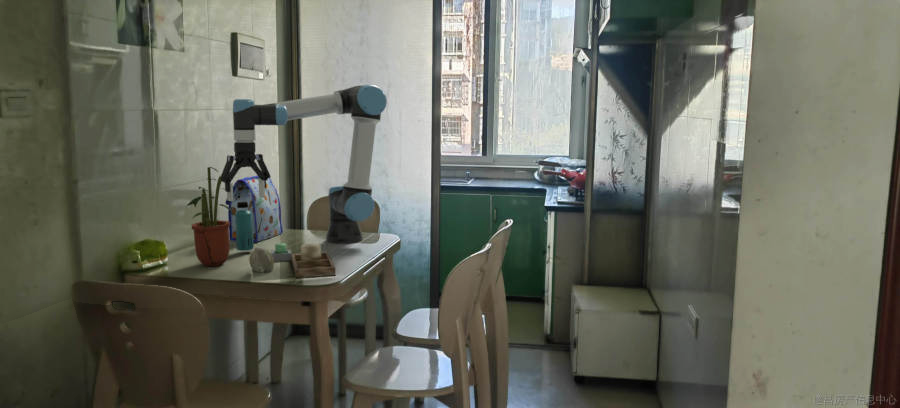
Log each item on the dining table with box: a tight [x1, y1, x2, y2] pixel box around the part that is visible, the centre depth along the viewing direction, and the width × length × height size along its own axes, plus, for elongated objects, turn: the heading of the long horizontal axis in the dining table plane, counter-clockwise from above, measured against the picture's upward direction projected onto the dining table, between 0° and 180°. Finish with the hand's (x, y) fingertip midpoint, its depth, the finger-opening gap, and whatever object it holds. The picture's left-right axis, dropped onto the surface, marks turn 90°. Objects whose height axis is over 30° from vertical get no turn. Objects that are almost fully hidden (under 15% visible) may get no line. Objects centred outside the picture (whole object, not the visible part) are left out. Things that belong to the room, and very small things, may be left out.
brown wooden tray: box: [291, 251, 336, 280], centre depth 241 cm, size 13×25×3 cm, turn 16°
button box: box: [270, 249, 293, 262], centre depth 254 cm, size 7×7×4 cm
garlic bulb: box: [248, 247, 275, 273], centre depth 236 cm, size 9×8×10 cm
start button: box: [274, 242, 288, 254], centre depth 254 cm, size 4×4×4 cm
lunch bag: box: [225, 174, 283, 243], centre depth 299 cm, size 23×17×27 cm
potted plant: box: [186, 166, 234, 267], centre depth 245 cm, size 17×16×35 cm
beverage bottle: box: [235, 202, 255, 252], centre depth 269 cm, size 6×7×20 cm
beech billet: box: [300, 243, 322, 261], centre depth 247 cm, size 7×7×6 cm
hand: (246, 199), depth 257 cm, fingers open, 13 cm apart
